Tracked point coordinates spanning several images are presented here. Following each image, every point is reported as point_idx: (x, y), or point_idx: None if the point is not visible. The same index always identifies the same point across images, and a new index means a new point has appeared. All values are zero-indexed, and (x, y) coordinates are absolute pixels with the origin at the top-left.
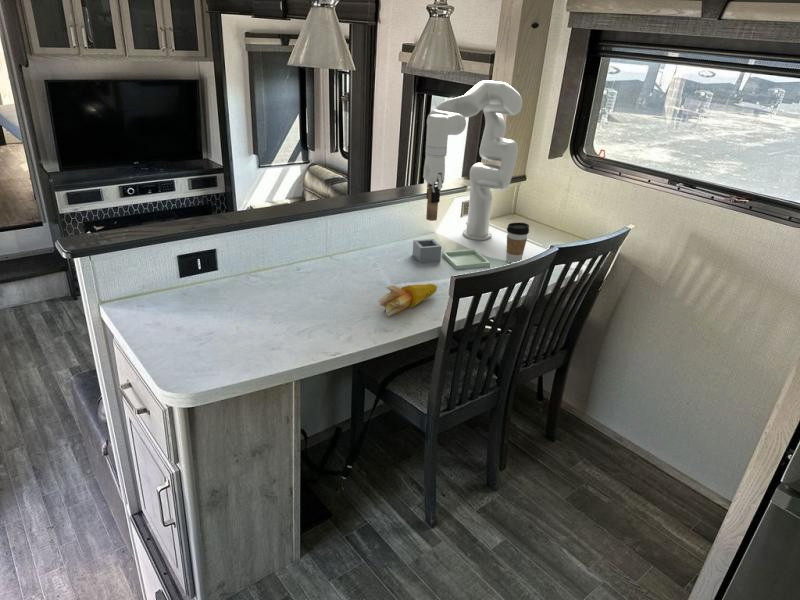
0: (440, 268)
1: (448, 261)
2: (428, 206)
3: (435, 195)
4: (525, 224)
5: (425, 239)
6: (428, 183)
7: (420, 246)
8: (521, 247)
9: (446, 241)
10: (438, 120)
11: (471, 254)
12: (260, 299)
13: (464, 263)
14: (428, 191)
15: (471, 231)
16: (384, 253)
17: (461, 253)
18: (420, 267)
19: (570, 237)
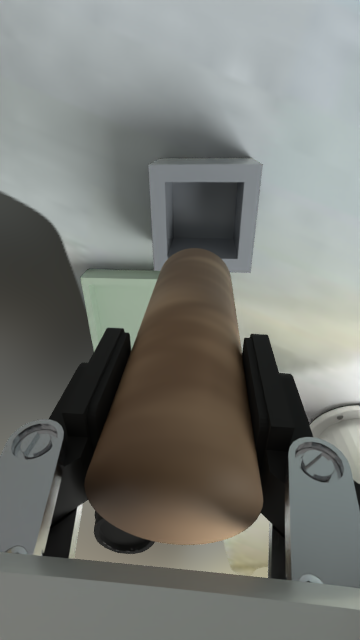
0: (120, 229)
1: (150, 274)
2: (169, 293)
3: (59, 413)
4: (130, 549)
5: (254, 233)
6: (288, 530)
7: (170, 171)
8: None
9: (347, 343)
10: None
11: None
12: None
13: (129, 316)
14: (168, 394)
15: (345, 431)
16: (348, 12)
17: None
18: (139, 153)
19: (246, 559)
